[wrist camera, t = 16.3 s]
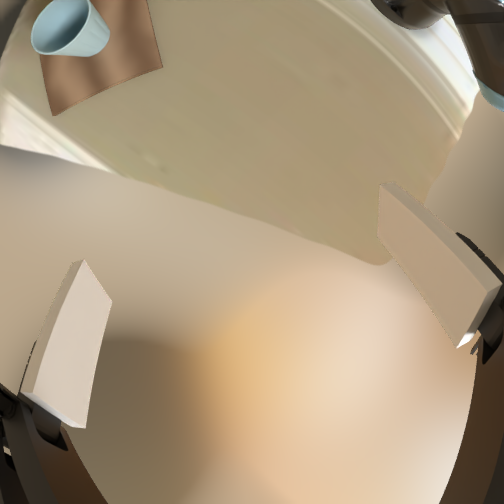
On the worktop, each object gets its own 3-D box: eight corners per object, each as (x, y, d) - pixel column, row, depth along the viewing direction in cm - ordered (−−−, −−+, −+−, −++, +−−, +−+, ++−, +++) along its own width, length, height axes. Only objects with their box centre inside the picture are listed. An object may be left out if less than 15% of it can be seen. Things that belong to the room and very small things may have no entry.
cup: (112, 61, 26) (81, 48, 17) (64, 67, 24) (24, 60, 15) (123, 13, 23) (98, -13, 14) (74, 20, 21) (39, 2, 12)
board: (141, -25, 20) (140, -27, 19) (162, 67, 29) (161, 66, 28) (39, 26, 20) (36, 25, 19) (55, 115, 28) (52, 116, 27)
